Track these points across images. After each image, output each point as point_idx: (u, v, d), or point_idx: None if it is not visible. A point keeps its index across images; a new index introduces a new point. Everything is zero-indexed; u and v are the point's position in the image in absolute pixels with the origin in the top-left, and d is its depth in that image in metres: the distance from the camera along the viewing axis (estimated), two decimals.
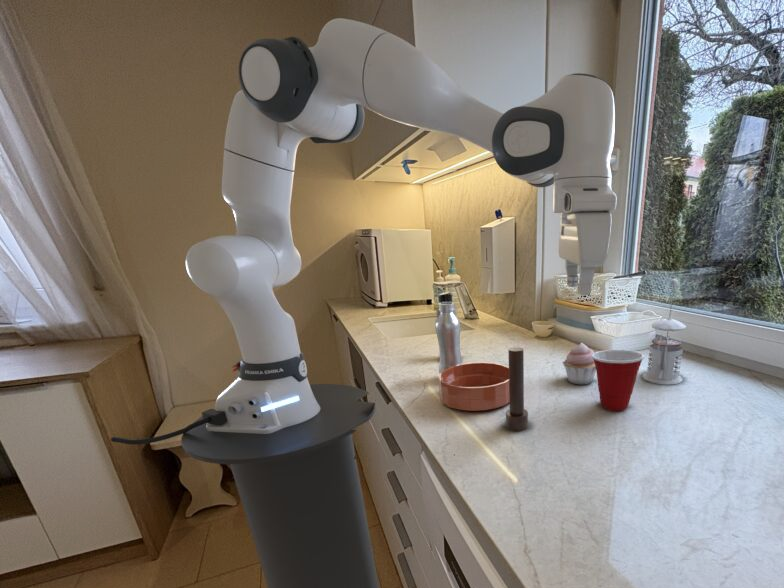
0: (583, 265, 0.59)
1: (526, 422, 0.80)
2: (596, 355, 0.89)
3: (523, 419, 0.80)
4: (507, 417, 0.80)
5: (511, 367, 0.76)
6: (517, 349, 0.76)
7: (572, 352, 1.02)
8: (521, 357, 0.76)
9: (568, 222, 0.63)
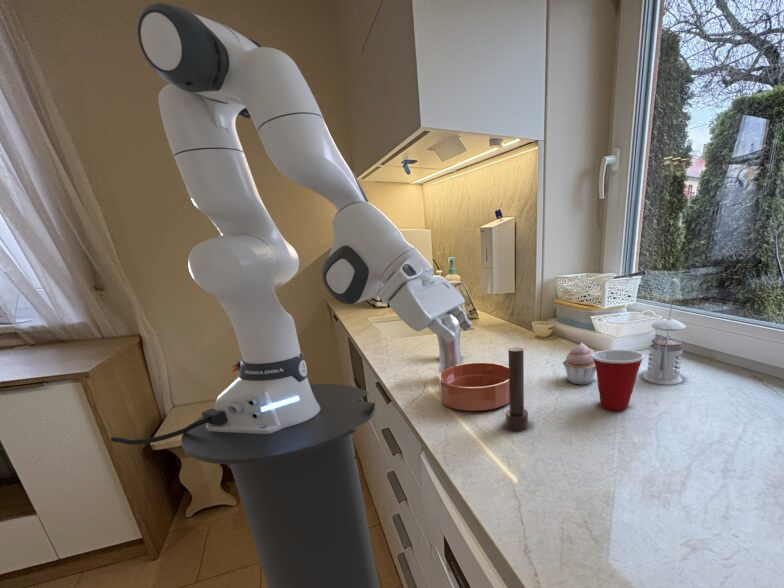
0: (418, 330, 0.69)
1: (526, 422, 0.80)
2: (596, 355, 0.89)
3: (523, 419, 0.80)
4: (507, 417, 0.80)
5: (511, 367, 0.76)
6: (517, 349, 0.76)
7: (572, 352, 1.02)
8: (521, 357, 0.76)
9: None
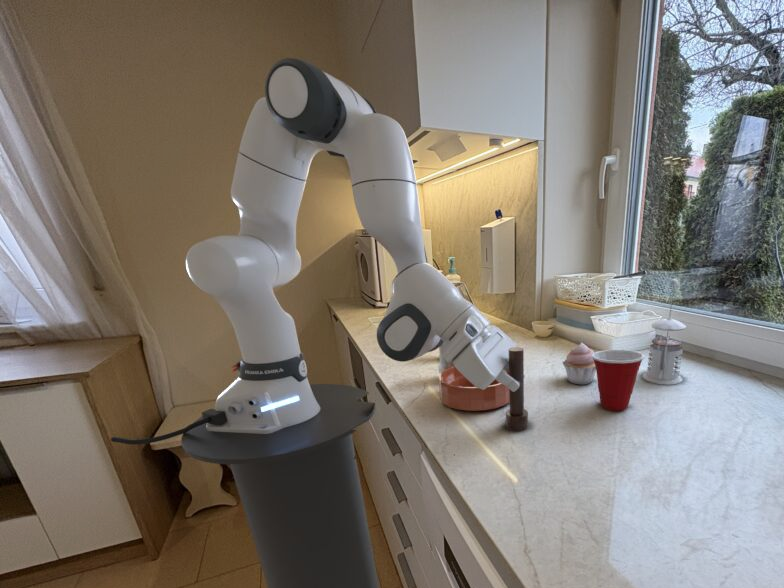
0: (483, 389, 0.70)
1: (526, 422, 0.80)
2: (596, 355, 0.89)
3: (523, 419, 0.80)
4: (507, 417, 0.80)
5: (511, 367, 0.76)
6: (517, 349, 0.76)
7: (572, 352, 1.02)
8: (521, 357, 0.76)
9: None
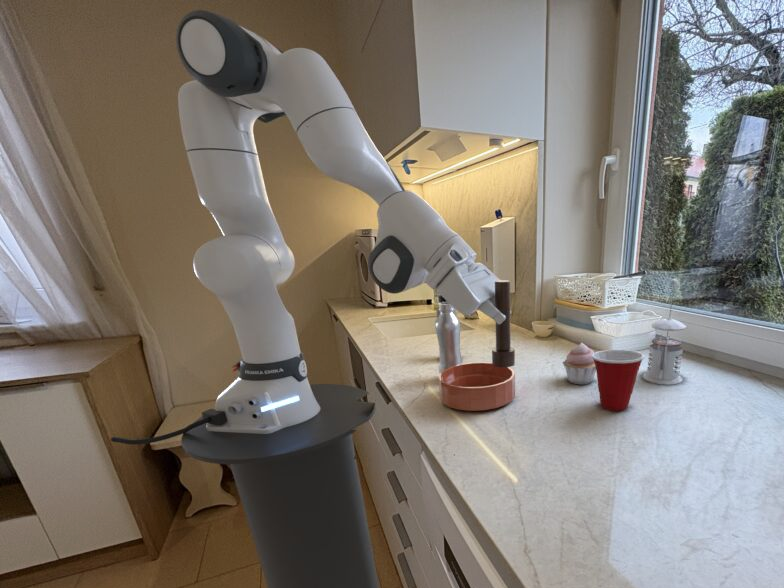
0: (466, 315, 0.69)
1: (512, 359, 0.79)
2: (596, 355, 0.89)
3: (510, 355, 0.78)
4: (493, 353, 0.79)
5: (497, 299, 0.75)
6: (504, 280, 0.75)
7: (572, 352, 1.02)
8: (507, 289, 0.75)
9: None
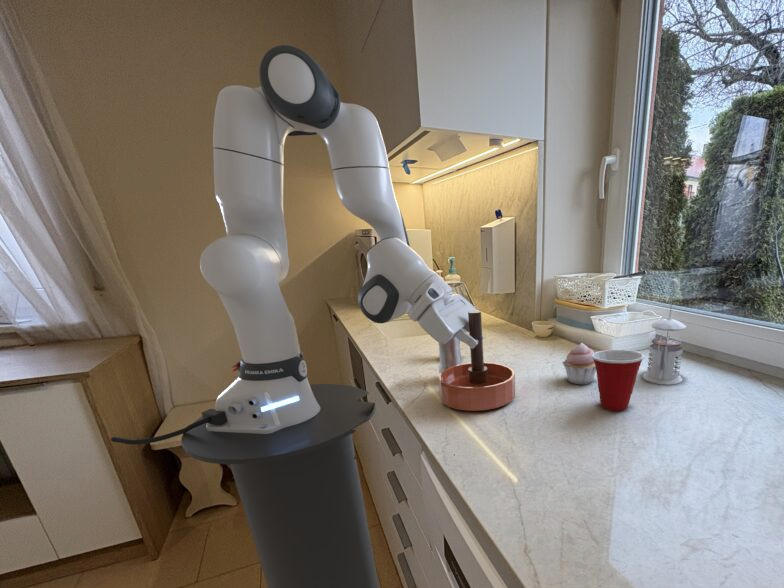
0: (443, 343, 0.82)
1: (486, 377, 0.93)
2: (596, 355, 0.89)
3: (483, 374, 0.92)
4: (469, 372, 0.92)
5: (470, 327, 0.89)
6: (476, 311, 0.88)
7: (572, 352, 1.02)
8: (479, 318, 0.88)
9: None
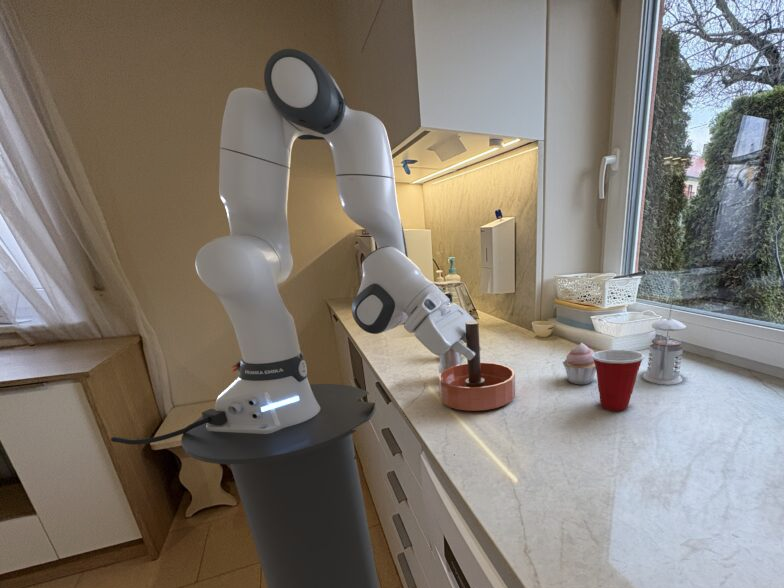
0: (439, 355, 0.80)
1: None
2: (596, 355, 0.89)
3: (480, 386, 0.90)
4: (466, 384, 0.90)
5: (468, 338, 0.87)
6: (473, 322, 0.87)
7: (572, 352, 1.02)
8: (476, 329, 0.86)
9: None
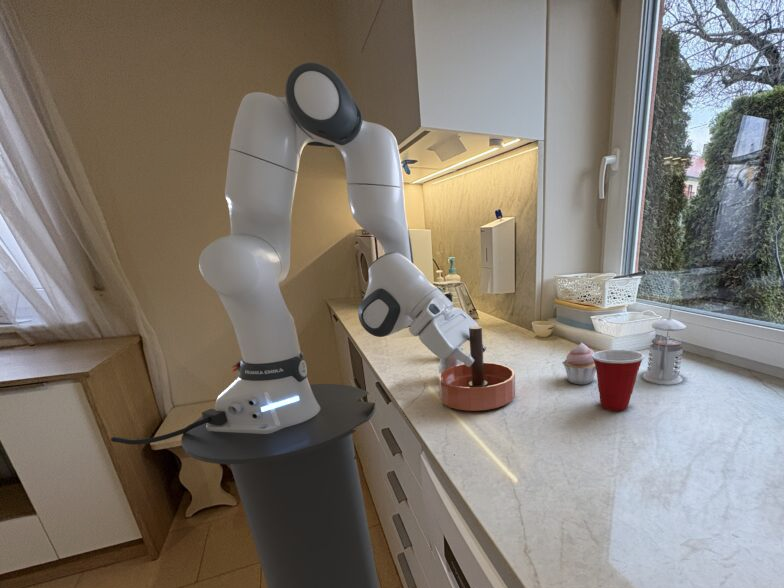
0: (443, 358, 0.83)
1: None
2: (596, 355, 0.89)
3: None
4: (469, 386, 0.93)
5: (471, 343, 0.90)
6: (476, 327, 0.90)
7: (572, 352, 1.02)
8: (479, 334, 0.89)
9: None
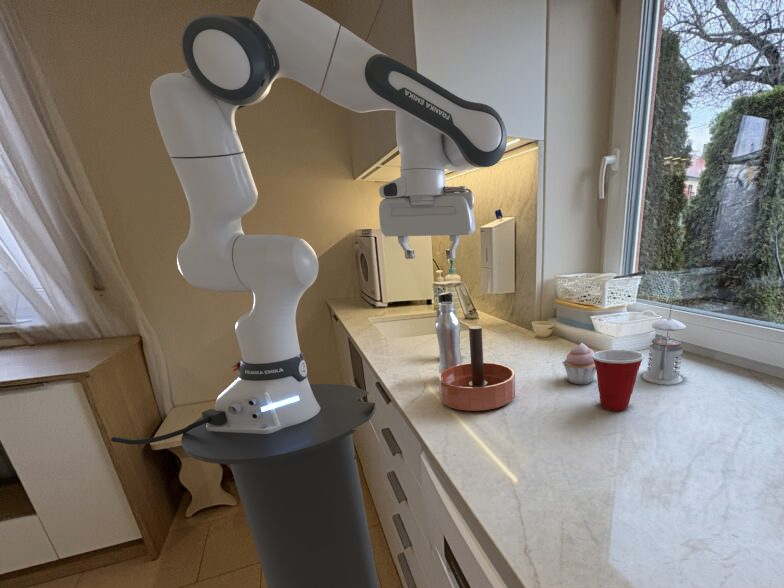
0: None
1: None
2: (596, 355, 0.89)
3: None
4: (469, 386, 0.93)
5: (471, 343, 0.90)
6: (476, 327, 0.90)
7: (572, 352, 1.02)
8: (479, 334, 0.89)
9: None
